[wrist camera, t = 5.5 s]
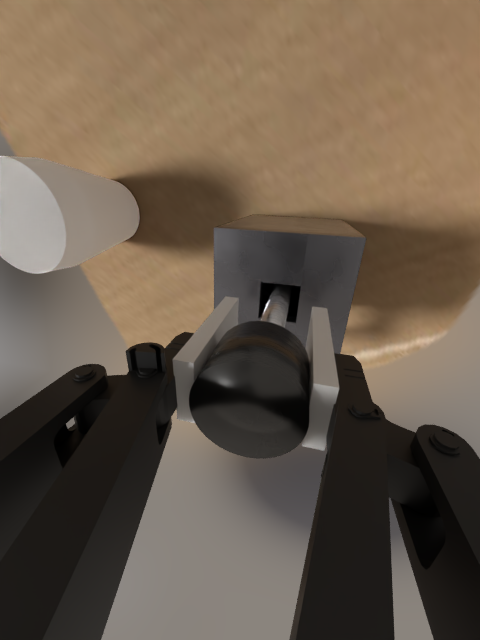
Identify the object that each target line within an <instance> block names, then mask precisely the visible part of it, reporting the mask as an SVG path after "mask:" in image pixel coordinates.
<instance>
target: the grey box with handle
mask: <svg viewBox="0 0 480 640" xmlns="http://www.w3.org/2000/svg"><path fill="white" fill-rule="evenodd" d="M365 241H366V237H365V236H363V235H362V234H361V233H359V232H358V231H357V230H355V229H354V228H353V227H351V226H350V225H349V224H347V223H346V222H345V221H343V220H341V219H323V218H305V217H287V216H269V215H250V216H247V217H244V218H241V219H238V220H235V221H232V222H229V223H226V224H223V225H220V226H217V227H214V309H215V308H216V307H217V306H218V305H219V304H220V302H221V301H222V300H223V299H224V298H225V296H227V297H235V298H239V304H238V324H241V323H244V322H249V321H260V320H261V317H262V315H263V312H264V310H265V307H266V305H267V302H268V300H269V297H270V294H268V293H267V292H266V291H265V290H264V289H263V288H262V286H263V282H265V283H275V284H285V285H294V286H301V289H300V297H299V299H297V300H290V303H289V308H288V313H287V319H286V324H285V328H286V329H287V330H289V331H290V332H292V333H293V334H294V335H295V336H296V337H297V338H298V339H299V340H300V341H301V343H302V344H303V346H304V347H305V348H306V342H307V336H308V330H309V323H310V317H311V311H312V307H321V308H327V310H328V317H329V323H330V330H331V336H332V343H333V350H334V353H337V354H340V352H341V347H342V343H343V339H344V334H345V330H346V325H347V321H348V316H349V312H350V308H351V303H352V299H353V294H354V290H355V286H356V281H357V277H358V272H359V268H360V264H361V259H362V255H363V250H364V246H365Z"/></svg>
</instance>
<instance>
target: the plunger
mask: <svg viewBox="0 0 480 640" xmlns="http://www.w3.org/2000/svg"><path fill="white" fill-rule="evenodd" d="M262 288H263V289H264V290H265V291H266V292H267V293H268V294H270V297H269V300H268V302H267V305H266V307H265V310H264V312H263V315H262V317H261V320H260V321H249V322H244V323H241V324H238V325H236V326H234V327H233V328H231V329H230V330H228V331H227V332H226V333H225V334H224V335H223V337H222V338H221V340H220V341H219V343H218V344H217V346H216V348H215V349H214V351H213V352H212V354H211V356H210V357H209V359H208V361H207V362H206V364H205V365H204V367H203V369H202V370H201V372H200V373H199V375H198V377H197V378H196V380H195V382H194V383H193V385H192V387H191V390H190V394H189V407H190V412H191V415H192V417H193V419H194V421H195V423H196V425H197V426H198V428H199V429H200V430H201V431H202V432H203V434H204V435H205V436H206V437H207V438H208V439H210V440H211V441H212V442H214V443H215V444H216V445H218V446H219V447H221V448H223V449H225V450H227V451H229V452H232V453H234V454H237V455H241V456H245V457H250V458H272V457H277V456H280V455H283V454H286V453H288V452H290V451H291V450H293V449H294V448H296V447H297V446H298V445H299V444H300V443H301V442H302V440H303V439H304V438H305V436H306V434H307V431H308V427H309V358H308V354H307V352H306V349H305V347H304V346H303V344H302V343H301V341H300V340H299V339H298V338H297V337H296V336H295V335H294V334H293V333H292V332H290V331H289V330H287V329H286V328H285V324H286V319H287V313H288V308H289V303H290V300H297V299H299V297H300V289H301V286H294V285H285V284H275V283H265V282H263V286H262Z"/></svg>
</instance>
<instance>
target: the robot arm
mask: <svg viewBox="0 0 480 640" xmlns="http://www.w3.org/2000/svg"><path fill="white" fill-rule="evenodd" d="M238 304H239V298H235V297H227V296H225V298H224V299H223V300H222V301H221V302H220V304H219V305H218V306H217V307H216V308H215V309H214V311H213V312H212V313H211V314H210V315H209V317H208V318H207V319H206V320H205V321H204V323H203V324H202V325H201V326H200V327H199V329H198V330H197V331H196V332H195V333H188V332H184V333H182V334H180V335H178V336H176V337H175V338H174V339H173V340H172V341H171V343H169V344H168V345H167V346H166V348H165V349H164V347H163V346H162V345H160V344H157V343H141V344H137V345H134V346H132V347H130V348H129V349H128V350H127V351H126V355H127V362H128V368H129V372H128V374H127V375H112V376H107V373H106V369H105V368H104V367H103V366H101V365H99V364H88V365H82V366H79V367H76V368H74V369H73V370H71V371H69V372H68V373H66V374H65V375H63V376H62V377H60V378H59V379H57V380H56V381H55V382H53V383H52V384H50V385H49V386H47V387H46V388H44V389H43V390H41V391H40V392H39V393H37V394H36V395H35V396H33V397H32V398H30V399H29V400H27V401H26V402H24V403H23V404H21V405H20V406H18V407H17V408H15V409H14V410H13V411H11V412H10V413H8V414H7V415H5V416H4V417H2V418H1V419H0V640H101V638H102V635H103V632H104V629H105V626H106V623H107V620H108V617H109V614H110V611H111V608H112V605H113V602H114V598H115V596H116V593H117V590H118V587H119V584H120V581H121V578H122V575H123V571H124V569H125V566H126V563H127V560H128V557H129V554H130V550H131V547H132V544H133V541H134V538H135V535H136V532H137V529H138V526H139V523H140V520H141V517H142V514H143V511H144V508H145V505H146V502H147V499H148V496H149V493H150V490H151V487H152V484H153V481H154V478H155V475H156V472H157V469H158V466H159V463H160V460H161V457H162V454H163V451H164V448H165V445H166V442H167V439H168V436H169V433H170V430H171V425H172V422H171V416H172V415H173V413H174V411H175V410H176V408H177V419H179V420H184V421H188V422H193V423H195V421H194V419H193V417H192V415H191V412H190V407H189V394H190V390H191V387H192V385H193V383H194V382H195V380H196V378H197V377H198V375H199V373H200V372H201V370H202V369H203V367H204V365H205V364H206V362H207V361H208V359H209V357H210V356H211V354H212V352H213V351H214V349H215V348H216V346H217V344H218V343H219V341H220V340H221V338H222V337H223V335H224V334H225V333H226V332H227V331H228V330H230V329H231V328H233V327H234V326H236V325H238ZM305 349H306V352H307V354H308V358H309V427H308V431H307V434H306V436H305V438H304V439H303V440H302V446H304V447H309V448H314V449H319V450H323V451H324V449H325V445H326V441H327V454H326V458H325V462H324V467H323V470H322V474H321V483H320V488H319V493H318V498H317V503H316V508H315V513H314V518H313V523H312V528H311V533H310V538H309V543H308V549H307V554H306V559H305V564H304V569H303V574H302V579H301V584H300V590H299V595H298V599H297V605H296V609H295V615H294V620H293V625H292V630H291V635H290V640H394V617H393V593H392V592H393V591H392V568H391V544H390V543H391V542H390V521H389V520H390V518H389V497H390V498H391V501H392V505H393V507H394V511H395V514H396V518H397V521H398V524H399V527H400V531H401V534H402V537H403V540H404V544H405V547H406V550H407V553H408V557H409V560H410V563H411V567H412V570H413V573H414V576H415V580H416V583H417V586H418V589H419V593H420V596H421V599H422V602H423V606H424V609H425V612H426V616H427V619H428V622H429V625H430V629H431V632H432V635H433V638H434V640H480V459H479V457H478V456H477V454H476V453H475V452H474V450H473V449H472V447H471V446H470V445H469V444H468V443H467V442H466V441H465V440H464V439H462V438H461V437H460V436H458V435H457V434H456V433H454V432H452V431H450V430H448V429H445V428H443V427H440V426H436V425H423V426H421V427H419V428H418V430H417V432H416V433H415V432H412V431H410V430H407V429H405V428H402V427H400V426H398V425H396V424H393V423H391V422H390V421H388V420H387V419H385V415H384V412H383V411H382V410H381V409H380V408H379V406H377V405H376V404H374V403H373V402H372V399H371V395H370V392H369V389H368V385H367V382H366V380H365V376H364V373H363V369H362V366H361V363H360V362H359V361H358V360H357V359H356V358H355V357H354V356H350V355H343V354H337V353H334V350H333V343H332V336H331V330H330V323H329V317H328V310H327V308H321V307H312V311H311V317H310V323H309V330H308V336H307V342H306V348H305ZM73 417H74V420H75V424H74V425H73V426H72V427H70V428H69V429H67V426H66V423H67V422H68V421H69V420H70V419H71V418H73Z"/></svg>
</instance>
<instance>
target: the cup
mask: <svg viewBox="0 0 480 640" xmlns="http://www.w3.org/2000/svg"><path fill="white" fill-rule="evenodd" d="M139 220H140V215H139V208H138V205H137V202H136V200H135V198H134V196H133V195H132V193H131V192H130V191H129V190H128V189H127V188H126V187H125V186H124V185H122V184H121V183H119V182H117V181H114V180H111V179H107V178H104V177H101V176H98V175H95V174H91V173H88V172H85V171H82V170H79V169H75V168H72V167H69V166H66V165H63V164H59V163H56V162H53V161H50V160H46V159H41V158H35V157H11V156H0V256H1V257H2V258H3V259H4V260H5V261H7V262H8V263H9V264H11V265H13V266H14V267H16V268H18V269H20V270H22V271H25V272H28V273H35V274H40V273H46V272H50V271H54V270H58V269H63V268H70V267H74V266H76V265H79V264H81V263H83V262H85V261H87V260H89V259H91V258H93V257H95V256H97V255H99V254H100V253H102V252H104V251H106V250H108V249H110V248H112V247H114V246H116V245H118V244H119V243H121V242H123V241H125V240H127V239H129V238H131V237H132V236H133V235H134V234H135V232H136V231H137V228H138V226H139Z"/></svg>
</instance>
